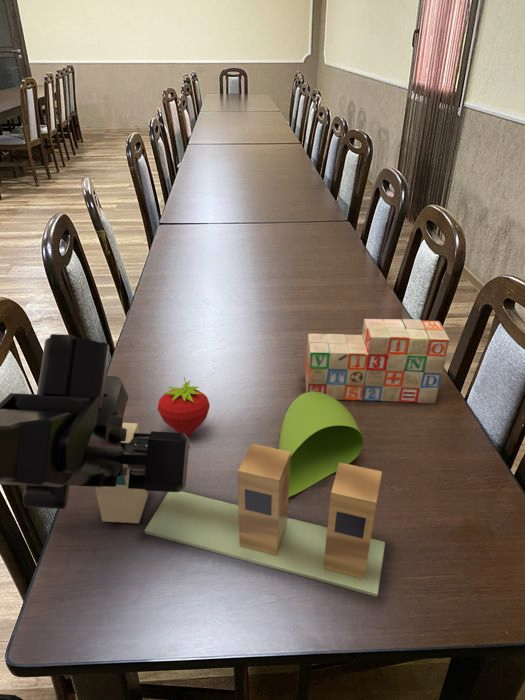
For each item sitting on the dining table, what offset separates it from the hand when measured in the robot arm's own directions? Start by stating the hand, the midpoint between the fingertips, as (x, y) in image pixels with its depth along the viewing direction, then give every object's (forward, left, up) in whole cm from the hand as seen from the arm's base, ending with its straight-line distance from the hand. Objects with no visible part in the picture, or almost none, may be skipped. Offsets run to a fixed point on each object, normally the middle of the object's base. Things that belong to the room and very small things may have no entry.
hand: (122, 461), depth 66 cm
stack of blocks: (+42, -11, -7) cm, 44 cm away
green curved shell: (+23, -13, -7) cm, 27 cm away
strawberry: (+14, +4, -7) cm, 16 cm away
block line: (+7, -17, -7) cm, 20 cm away
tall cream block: (-1, -1, -7) cm, 7 cm away
